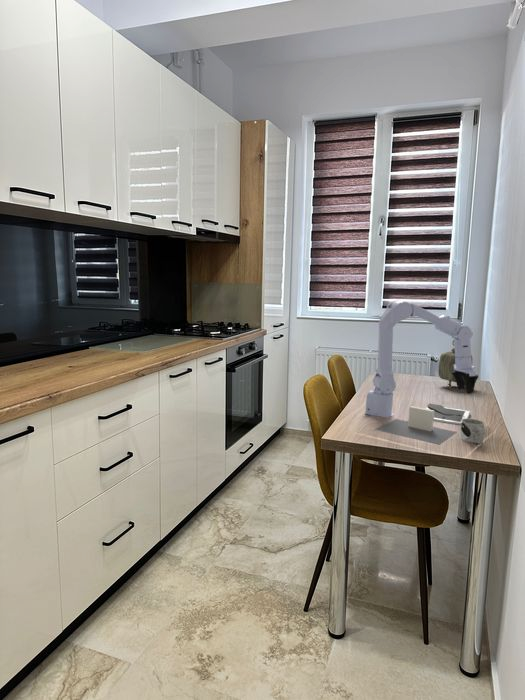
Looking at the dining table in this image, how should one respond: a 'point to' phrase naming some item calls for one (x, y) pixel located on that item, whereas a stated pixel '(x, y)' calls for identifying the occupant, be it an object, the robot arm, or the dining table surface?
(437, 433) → the mat
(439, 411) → the picture frame
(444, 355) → the tabletop clock
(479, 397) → the dining table surface
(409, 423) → the tile
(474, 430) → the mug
